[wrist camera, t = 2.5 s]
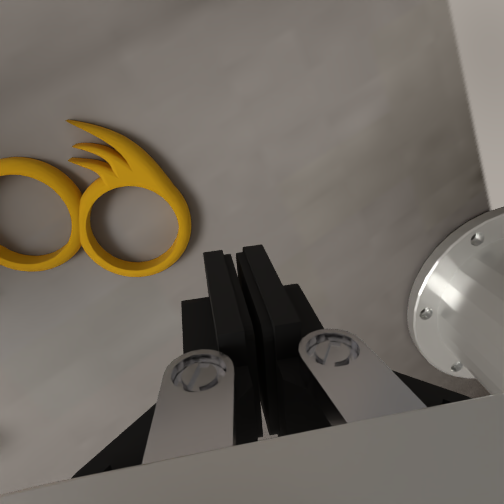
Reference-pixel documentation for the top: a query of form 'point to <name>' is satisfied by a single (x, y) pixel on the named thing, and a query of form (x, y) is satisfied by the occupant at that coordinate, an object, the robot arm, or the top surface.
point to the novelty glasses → (111, 176)
